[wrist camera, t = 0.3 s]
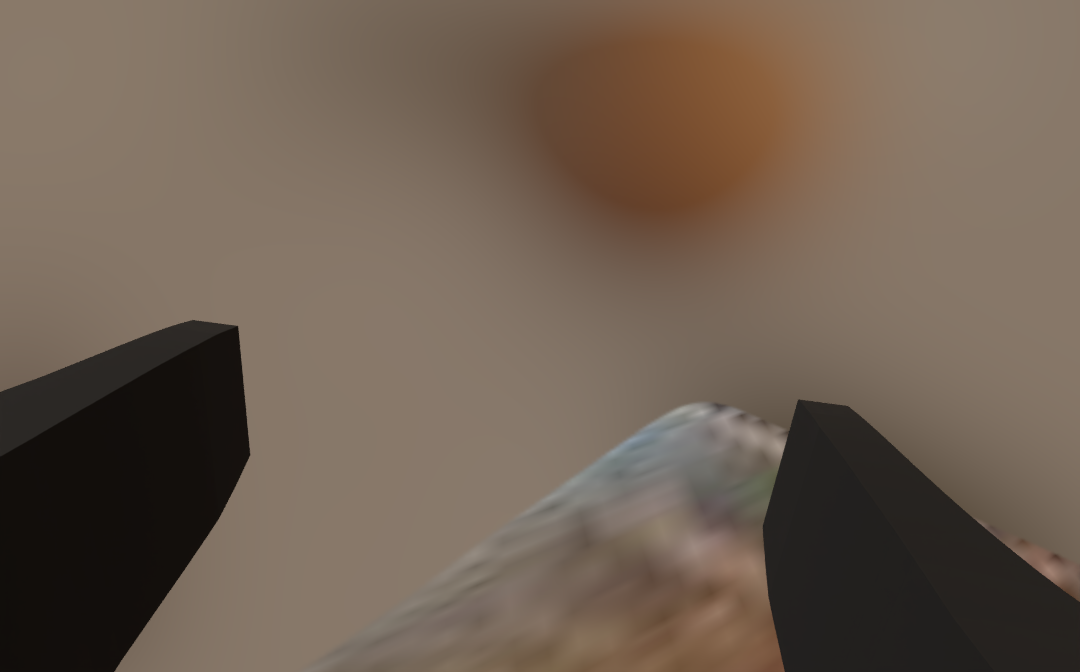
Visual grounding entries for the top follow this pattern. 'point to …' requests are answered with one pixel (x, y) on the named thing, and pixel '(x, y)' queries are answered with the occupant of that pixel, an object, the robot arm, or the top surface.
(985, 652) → the robot arm
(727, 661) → the top surface
